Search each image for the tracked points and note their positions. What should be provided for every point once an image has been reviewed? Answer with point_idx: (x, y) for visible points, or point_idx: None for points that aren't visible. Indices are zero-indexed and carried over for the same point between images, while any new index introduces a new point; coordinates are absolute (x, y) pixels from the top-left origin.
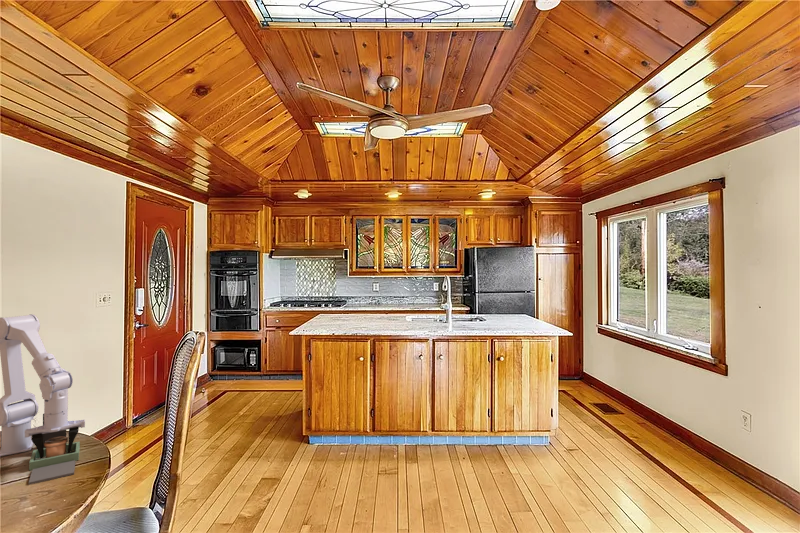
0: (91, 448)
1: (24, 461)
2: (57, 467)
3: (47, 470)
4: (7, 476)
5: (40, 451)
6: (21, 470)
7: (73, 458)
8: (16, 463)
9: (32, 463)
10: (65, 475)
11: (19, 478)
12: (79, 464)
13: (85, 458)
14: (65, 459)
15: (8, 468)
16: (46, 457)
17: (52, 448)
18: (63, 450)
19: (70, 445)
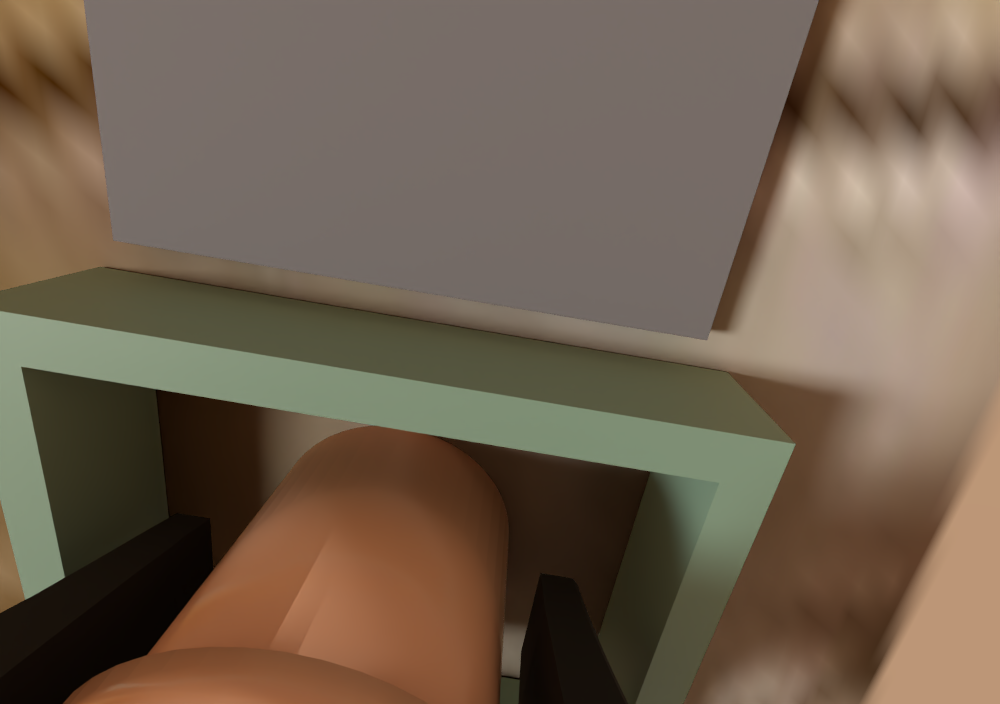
0: (14, 570)
1: (694, 696)
2: (369, 101)
3: (527, 82)
4: (991, 387)
5: (592, 690)
6: (794, 467)
7: (128, 290)
8: (771, 699)
9: (733, 418)
10: None
11: (914, 166)
12: (57, 68)
13: (14, 280)
14: (240, 316)
15: (879, 628)
16: (496, 555)
17: (368, 640)
18: (227, 558)
19: (45, 603)
